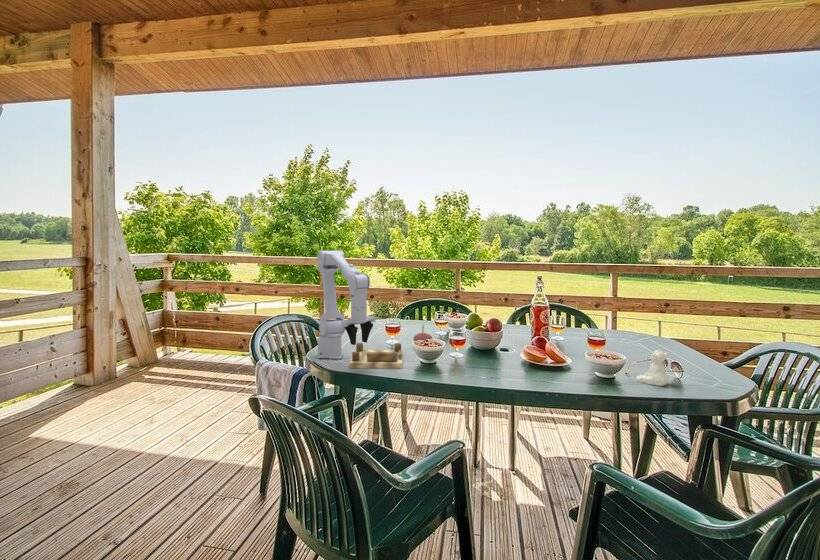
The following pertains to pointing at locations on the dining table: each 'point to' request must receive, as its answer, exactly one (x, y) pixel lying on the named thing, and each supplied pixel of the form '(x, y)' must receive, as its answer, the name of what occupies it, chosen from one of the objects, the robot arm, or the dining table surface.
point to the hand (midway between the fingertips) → (359, 343)
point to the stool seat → (361, 361)
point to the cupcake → (422, 335)
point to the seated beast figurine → (655, 370)
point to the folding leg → (382, 356)
